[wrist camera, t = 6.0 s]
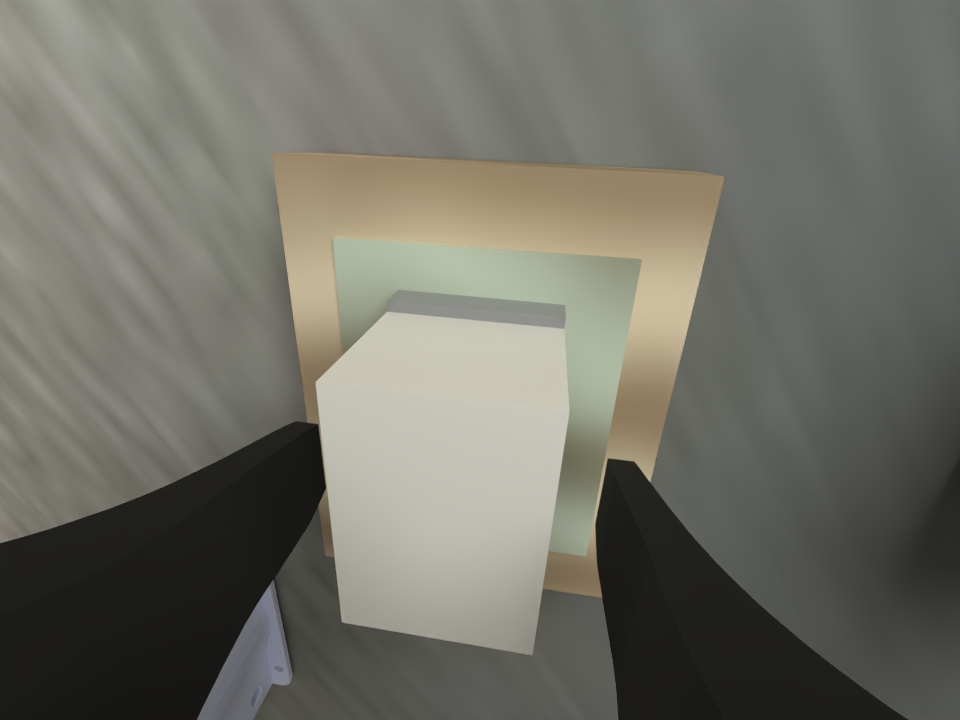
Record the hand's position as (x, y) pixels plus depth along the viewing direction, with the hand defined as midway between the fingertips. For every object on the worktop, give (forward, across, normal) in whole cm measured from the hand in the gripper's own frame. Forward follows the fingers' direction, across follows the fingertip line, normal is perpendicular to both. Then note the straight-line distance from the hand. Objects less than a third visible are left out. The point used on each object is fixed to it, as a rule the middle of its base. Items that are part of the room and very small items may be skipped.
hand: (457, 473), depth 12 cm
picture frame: (+6, 0, 0) cm, 6 cm away
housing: (+3, 0, 0) cm, 3 cm away
